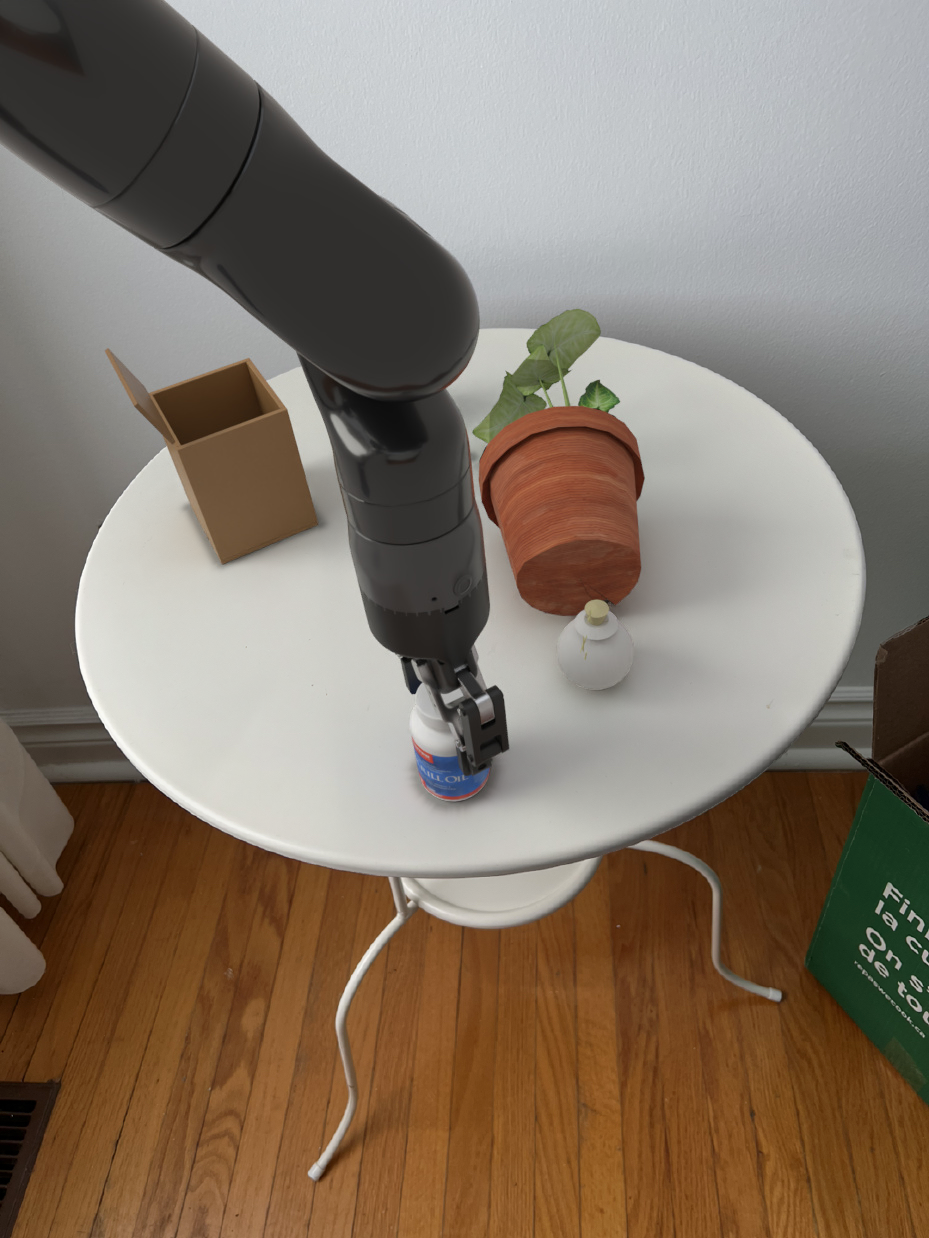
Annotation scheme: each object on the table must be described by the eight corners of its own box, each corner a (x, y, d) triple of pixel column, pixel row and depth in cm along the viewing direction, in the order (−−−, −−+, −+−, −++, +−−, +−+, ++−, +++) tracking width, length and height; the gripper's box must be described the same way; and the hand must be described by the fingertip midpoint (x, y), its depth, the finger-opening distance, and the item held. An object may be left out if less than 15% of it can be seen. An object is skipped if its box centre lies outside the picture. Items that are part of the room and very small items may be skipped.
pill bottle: (408, 791, 69) (389, 714, 61) (436, 735, 72) (421, 655, 65) (476, 813, 67) (464, 736, 60) (502, 754, 70) (494, 674, 63)
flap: (175, 442, 77) (172, 445, 77) (144, 386, 83) (141, 389, 83) (137, 403, 73) (133, 406, 73) (107, 347, 79) (104, 350, 79)
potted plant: (668, 631, 79) (604, 374, 100) (676, 509, 67) (602, 246, 88) (488, 654, 80) (463, 396, 101) (464, 539, 68) (441, 272, 89)
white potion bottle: (640, 656, 75) (648, 571, 68) (615, 727, 71) (622, 644, 64) (569, 639, 77) (569, 554, 70) (541, 707, 73) (538, 625, 65)
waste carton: (222, 564, 87) (177, 450, 77) (191, 506, 93) (145, 393, 83) (318, 524, 90) (287, 409, 80) (282, 471, 96) (249, 357, 86)
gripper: (313, 516, 56) (359, 680, 68) (417, 670, 47) (449, 828, 60) (422, 471, 58) (447, 639, 70) (541, 611, 49) (547, 775, 62)
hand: (448, 725), depth 65 cm, fingers open, 7 cm apart
